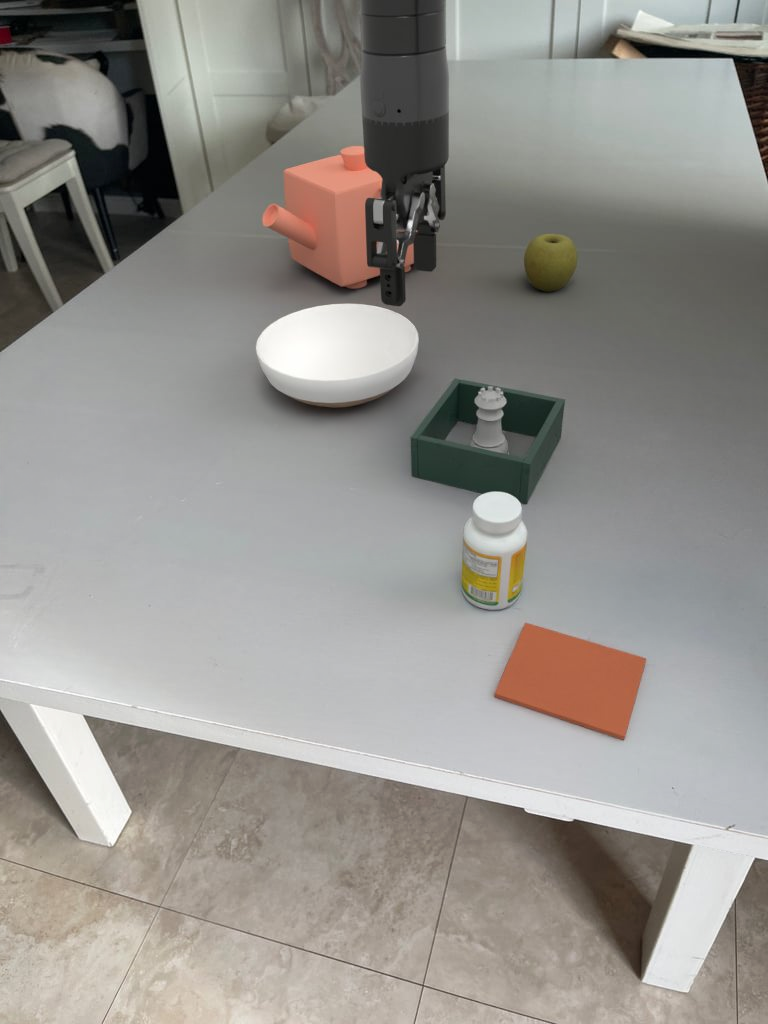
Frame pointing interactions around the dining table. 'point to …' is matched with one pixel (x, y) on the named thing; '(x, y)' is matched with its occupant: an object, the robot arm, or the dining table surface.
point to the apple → (550, 261)
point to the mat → (572, 680)
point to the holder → (481, 465)
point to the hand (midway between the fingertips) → (410, 286)
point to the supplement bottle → (494, 551)
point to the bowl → (338, 353)
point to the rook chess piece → (490, 421)
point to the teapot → (330, 217)
